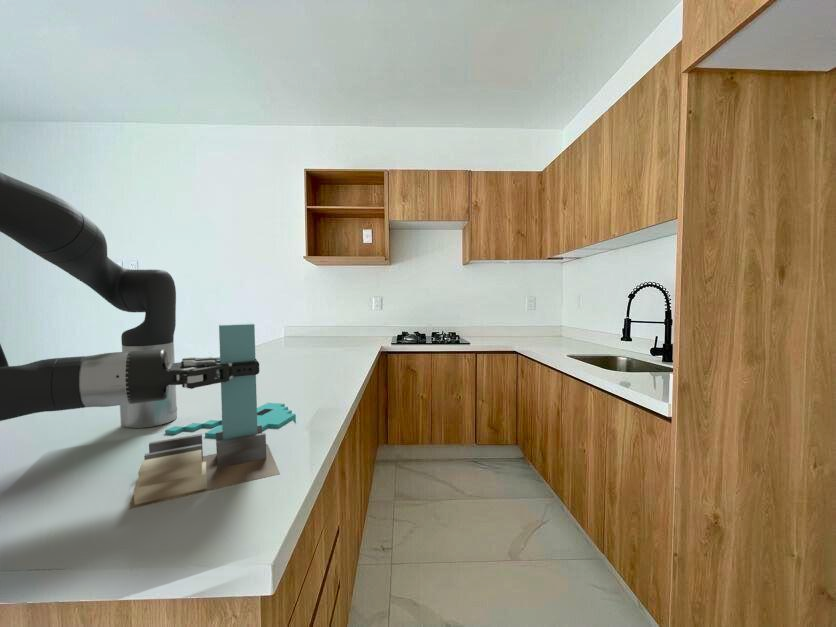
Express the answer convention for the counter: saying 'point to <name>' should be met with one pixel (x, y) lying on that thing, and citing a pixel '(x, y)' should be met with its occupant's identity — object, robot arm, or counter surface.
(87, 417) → the counter surface
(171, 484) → the offcut lower
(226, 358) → the block
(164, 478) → the offcut upper
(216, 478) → the rack
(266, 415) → the alien figure
